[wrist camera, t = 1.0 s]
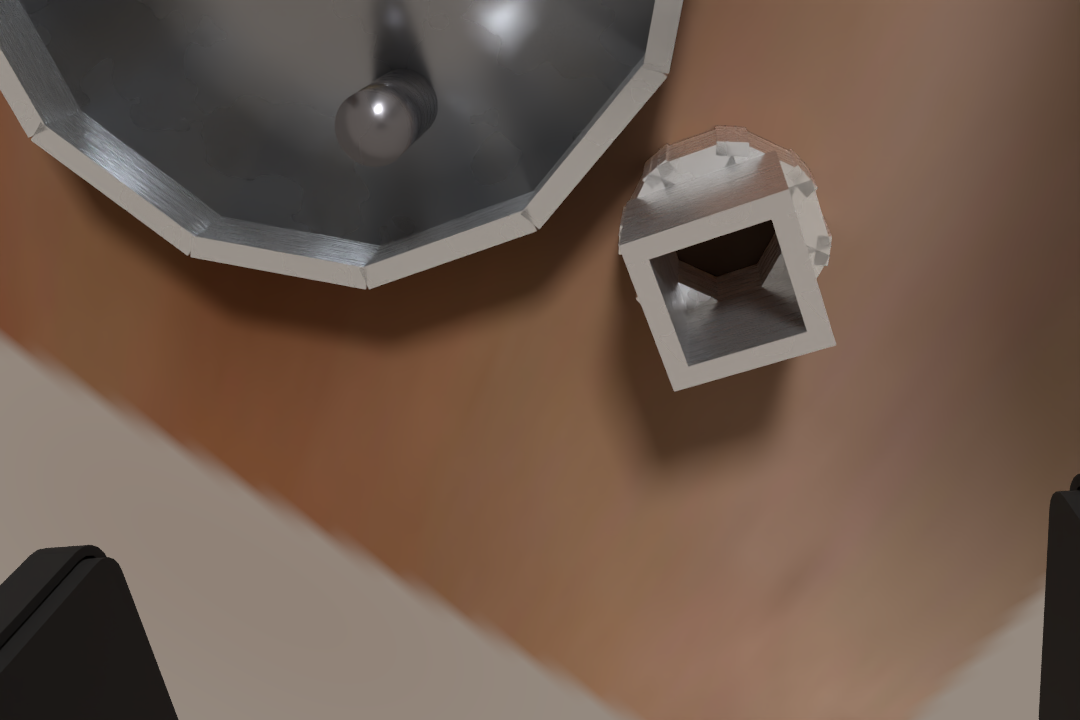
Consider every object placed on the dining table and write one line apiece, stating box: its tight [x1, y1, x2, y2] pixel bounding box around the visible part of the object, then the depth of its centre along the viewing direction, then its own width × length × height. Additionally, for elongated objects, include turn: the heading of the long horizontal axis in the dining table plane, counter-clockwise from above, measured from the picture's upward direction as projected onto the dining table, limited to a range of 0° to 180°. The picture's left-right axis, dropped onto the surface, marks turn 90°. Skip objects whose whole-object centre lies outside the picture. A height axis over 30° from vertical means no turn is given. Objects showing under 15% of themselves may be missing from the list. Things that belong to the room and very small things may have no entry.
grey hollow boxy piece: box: [618, 125, 836, 392], centre depth 28 cm, size 6×6×6 cm
